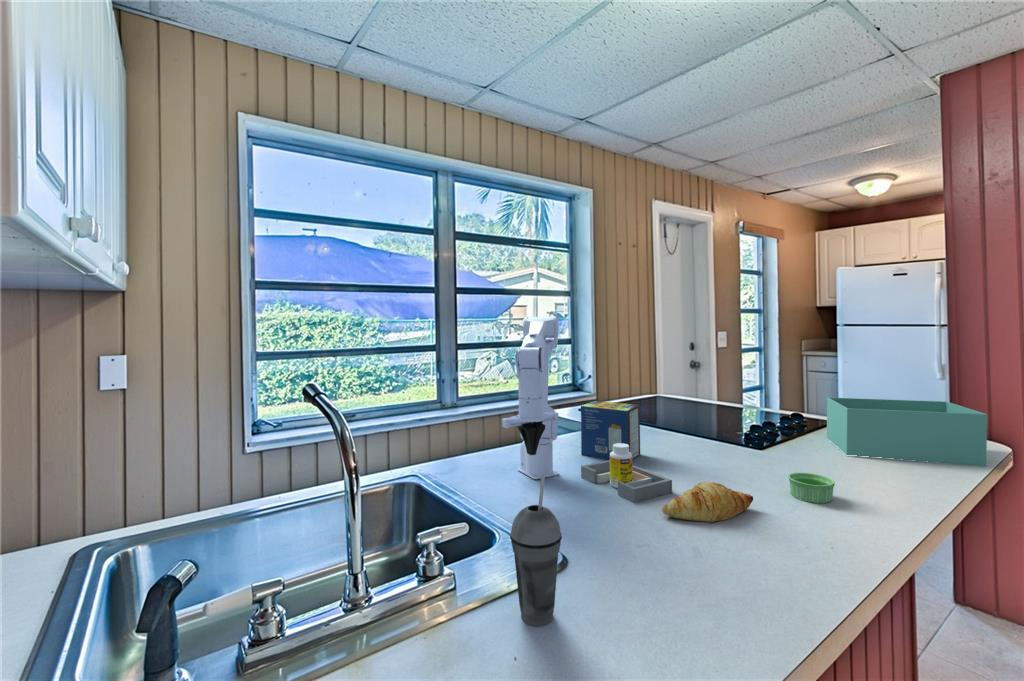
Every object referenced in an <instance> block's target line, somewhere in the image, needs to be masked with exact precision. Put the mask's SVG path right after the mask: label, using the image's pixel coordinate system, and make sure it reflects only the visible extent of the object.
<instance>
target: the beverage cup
mask: <svg viewBox="0 0 1024 681" xmlns="http://www.w3.org/2000/svg"><path fill="white" fill-rule="evenodd" d="M545 480H546V477H545V475H542V477H541V478H540V486H539V497H538V504H531V505H528V506H526V507H523V508H522V509H521V510H519V512H518V513H517V514H516V516H515V517H514V519H513V521H512V524H511V531H510V533H509V539H510V541H511V546H512V547H511V548H512V552H513V554H514V555H513V556H514V563H515V564H514V566H515V573H516V574H515V575H516V584H517V594H518V601H519V602H518V604H519V608H520V613H521V614H520V615H521V616H520V617H521V620H522V622H524V624H526V625H529V626H531V627H540V628H541V627H544V626H547V625H549V624H550V623H551V622H553V619H554V611H555V603H556V602H555V601H556V590H557V588H556V587H557V586H556V585H557V577H558V562H559V561H558V560H559V553H560V549H561V548H560V547H561V542H562V539H563V536H562V532H561V526H560V522H559V520H558V519H557V517H556V516H555V514H554V513H553V512H552V511H551V510H550V509H549V508H547V507H546V506H543V501H544V490H545V482H546V481H545Z"/></svg>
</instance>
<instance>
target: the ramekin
mask: <svg viewBox="0 0 1024 681" xmlns="http://www.w3.org/2000/svg"><path fill="white" fill-rule="evenodd" d="M788 481H789V489H790V490H789V491H790V494H791V496H792V497H793V496H794V498H795V499H797V498H798V499H797V500H799V499H801V500H800V501H802V500H804V501H803V502H805V501H808V502H807V503H810V502H814V503H813V504H819V503H823V504H828V502H829V503H830V502H832V501H833V495H834V487H835V484H836V482H835V480H833V479H832V478H830V477H828V476H825V475H821V474H817V473H810V472H792V473H790V474H788Z"/></svg>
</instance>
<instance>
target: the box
mask: <svg viewBox="0 0 1024 681" xmlns="http://www.w3.org/2000/svg"><path fill="white" fill-rule="evenodd" d="M987 436H988V414H987V413H984V412H981V411H978V410H975V409H971V408H968V407H965V406H962V405H959V404H956V403H953V402H949V401H941V400H940V401H936V400H935V401H933V400H913V399H912V400H911V399H887V398H886V399H883V398H879V399H878V398H858V397H857V398H853V397H852V398H850V397H830V396H829V397H826V439H827V438H828V439H829V440H831V441H832V442H833V443H834V444H835V445H836V446H838V447H839V448H840V449H841V450H842V451H843V452H844V453H845V454H846V455H857V456H869V457H882V458H894V459H903V460H902V461H904V460H915V461H914V462H918V461H926V462H925V463H932V462H939V463H938V464H945V463H947V464H948V465H949V464H950V465H961V466H973V467H975V466H976V467H987V448H988V446H987V443H988V437H987ZM846 455H845V456H846ZM927 461H928V462H927ZM947 464H946V465H947Z"/></svg>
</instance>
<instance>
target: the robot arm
mask: <svg viewBox="0 0 1024 681" xmlns="http://www.w3.org/2000/svg"><path fill="white" fill-rule="evenodd" d="M522 321H523V322H522V334H523V335H522V336H523V341H522V344H521V346H520V347H519V349H516V351H515V355H514V356H515V357H514V361H515V362H514V364H515V369H516V378H517V379H518V381H517V382H518V414H517V415H514V416H510V417H505V418H503V417H502V418H501V426H502V428H505V429H510V428H512V427H513V428H515V427H516V428H517V429H518V432H519V434H520V438H521V440H523V441H522V442H521V445H520V447H519V451H520V453H519V454H520V456H519V457H520V467H518V468H517V471H519V472H520V473H522V474H524V475H526V476H527V477H530V478H531V479H532V480H539V479H540V480H541V477H542V475H545V478H549V477H554V476H559V475H560V471H557V470H555V469H553V468H554V466H553V465H554V458H553V456H554V455H553V452H554V451H553V449H554V448H553V445H554V444H553V442H554V441H556V440H557V438H558V430H559V429H558V422H559V420H560V419H559V418H560V417H559V413H558V412H556V410H555V409H553V407H551V406H550V405H549V402H548V398H549V374H550V373H549V372H550V370H549V369H550V357H551V353H552V351H554V350H555V349H556V348H558V344H559V318H558V317H557V316H535V317H533V316H532V317H528V316H525V317H524V318H523V320H522Z"/></svg>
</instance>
